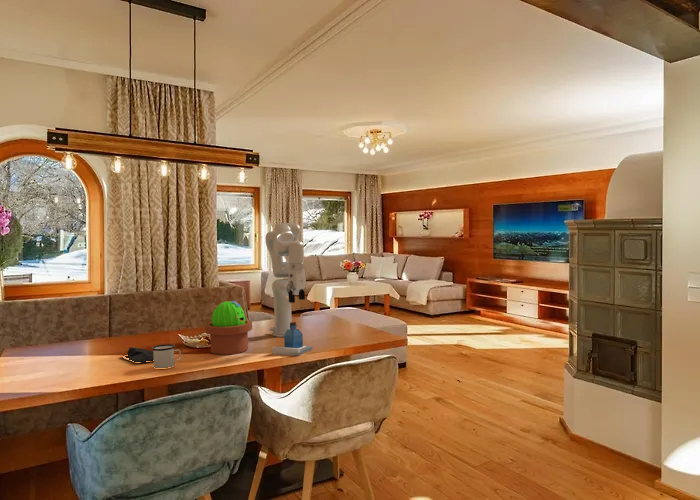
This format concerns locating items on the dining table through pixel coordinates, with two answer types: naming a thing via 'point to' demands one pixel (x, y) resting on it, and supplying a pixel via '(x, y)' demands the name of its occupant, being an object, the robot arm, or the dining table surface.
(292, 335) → the perfume bottle
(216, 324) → the potted cactus
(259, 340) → the dining table surface
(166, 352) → the mug
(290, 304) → the robot arm
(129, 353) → the black folded cloth
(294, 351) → the grey square slab
